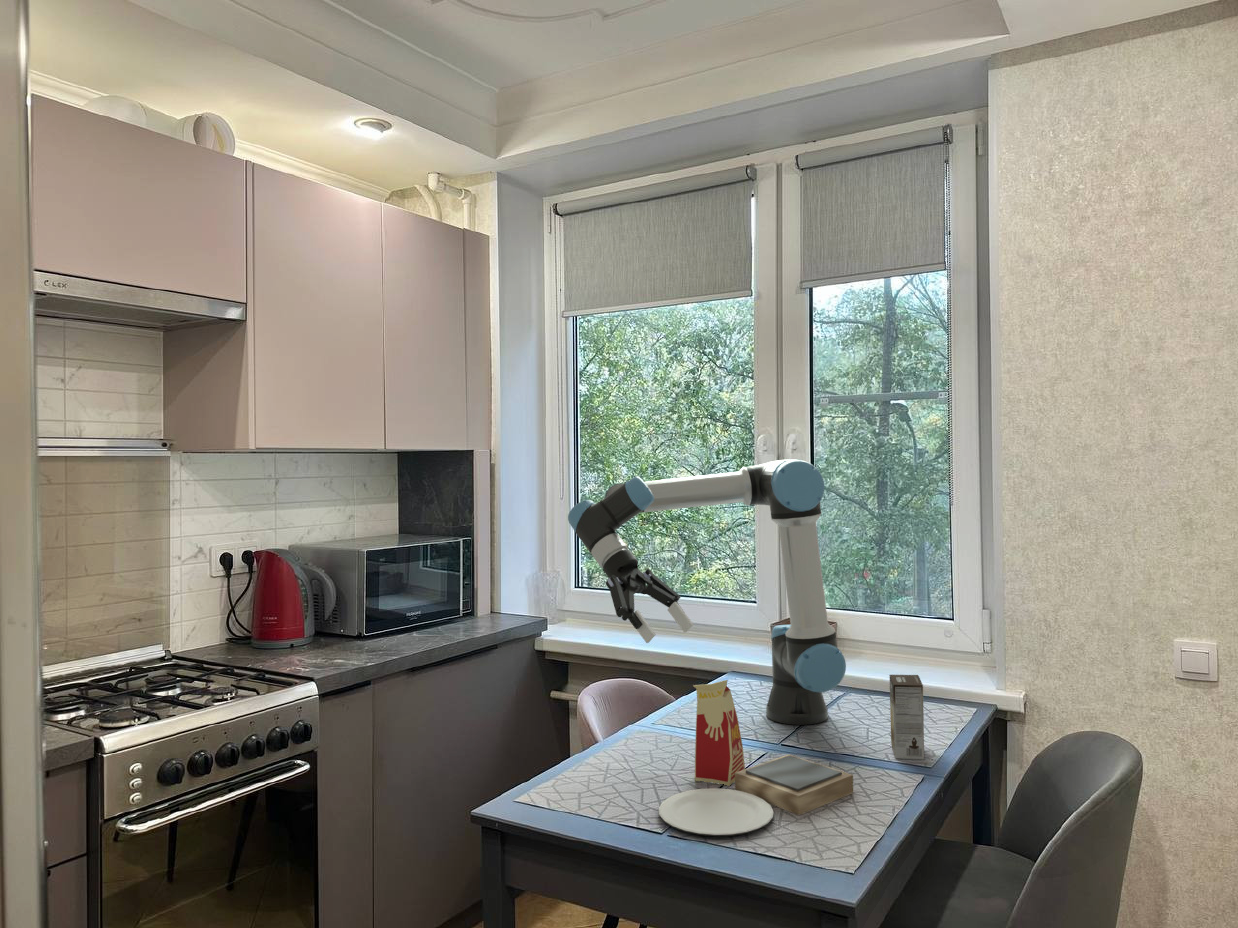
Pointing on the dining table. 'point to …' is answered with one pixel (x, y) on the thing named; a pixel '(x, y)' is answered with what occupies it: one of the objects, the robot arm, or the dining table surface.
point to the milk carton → (717, 735)
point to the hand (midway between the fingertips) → (670, 633)
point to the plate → (716, 812)
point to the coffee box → (907, 716)
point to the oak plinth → (794, 783)
